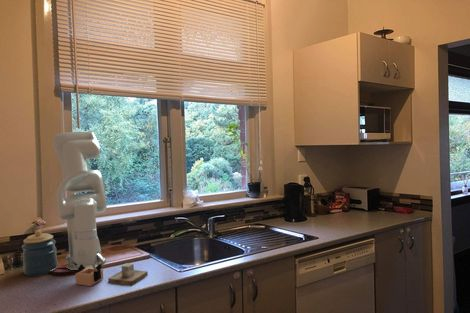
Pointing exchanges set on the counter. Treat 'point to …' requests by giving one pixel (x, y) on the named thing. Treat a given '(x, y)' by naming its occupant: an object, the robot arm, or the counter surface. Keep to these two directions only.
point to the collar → (87, 276)
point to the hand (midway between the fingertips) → (89, 278)
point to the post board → (127, 279)
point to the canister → (39, 254)
